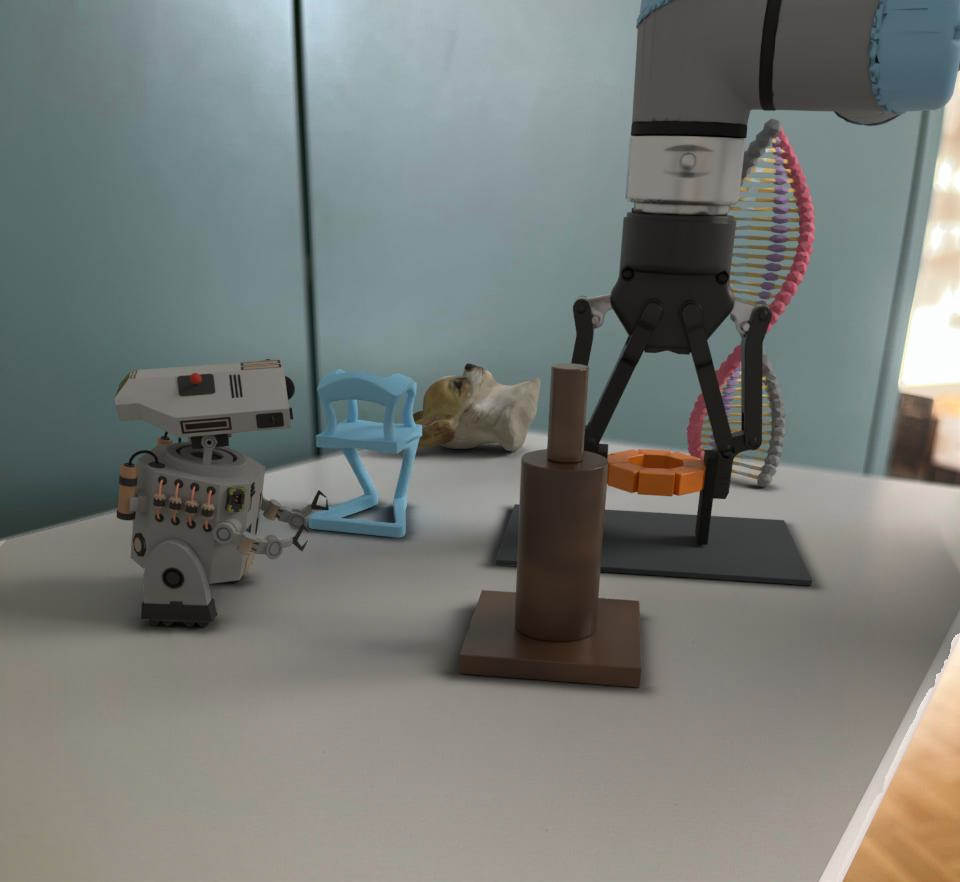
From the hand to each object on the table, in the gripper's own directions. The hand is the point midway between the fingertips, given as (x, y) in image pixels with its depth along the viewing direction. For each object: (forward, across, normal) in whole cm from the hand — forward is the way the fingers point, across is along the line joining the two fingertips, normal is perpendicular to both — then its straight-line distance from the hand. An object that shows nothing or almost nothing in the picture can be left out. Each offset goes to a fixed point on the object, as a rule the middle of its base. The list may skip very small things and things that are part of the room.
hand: (648, 534), depth 79 cm
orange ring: (-4, 0, 0) cm, 4 cm away
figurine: (+1, -27, -17) cm, 32 cm away
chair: (+1, -22, +2) cm, 22 cm away
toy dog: (+1, -18, +27) cm, 32 cm away
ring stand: (+1, -6, -20) cm, 21 cm away
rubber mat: (+1, 0, 0) cm, 1 cm away
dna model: (+1, +8, +21) cm, 23 cm away
